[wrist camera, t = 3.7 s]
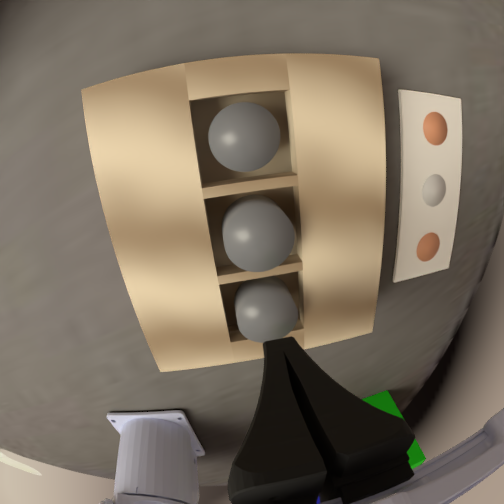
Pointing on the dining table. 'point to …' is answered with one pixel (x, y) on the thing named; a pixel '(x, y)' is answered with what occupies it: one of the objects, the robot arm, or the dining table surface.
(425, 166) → the card
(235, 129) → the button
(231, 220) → the middle button
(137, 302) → the button board
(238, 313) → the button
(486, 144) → the dining table surface
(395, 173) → the dining table surface
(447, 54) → the dining table surface
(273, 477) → the robot arm
